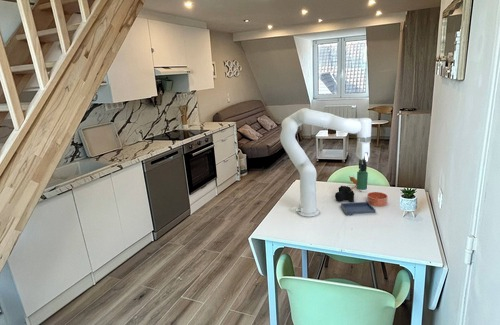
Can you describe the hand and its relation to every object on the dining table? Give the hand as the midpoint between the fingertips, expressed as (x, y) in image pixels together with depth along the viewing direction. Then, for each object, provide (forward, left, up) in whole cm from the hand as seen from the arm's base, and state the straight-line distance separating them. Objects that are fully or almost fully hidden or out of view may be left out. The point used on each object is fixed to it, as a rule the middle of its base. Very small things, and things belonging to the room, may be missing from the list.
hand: (362, 169), depth 185 cm
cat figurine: (+7, +32, -26) cm, 42 cm away
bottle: (0, 0, -12) cm, 12 cm away
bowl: (+12, +6, -26) cm, 29 cm away
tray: (-3, -2, -26) cm, 26 cm away
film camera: (-7, +15, -26) cm, 31 cm away
